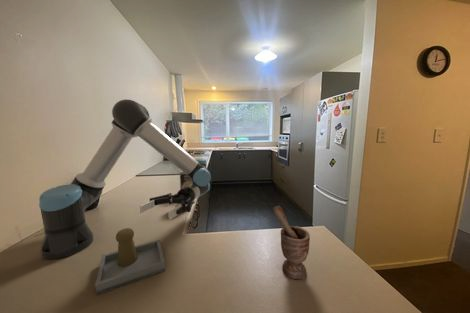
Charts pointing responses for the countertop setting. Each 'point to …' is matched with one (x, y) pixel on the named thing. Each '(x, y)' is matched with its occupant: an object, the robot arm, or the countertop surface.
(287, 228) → the mortar and pestle
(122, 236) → the cork
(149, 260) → the tray
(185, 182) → the coffee box
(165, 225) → the countertop surface
